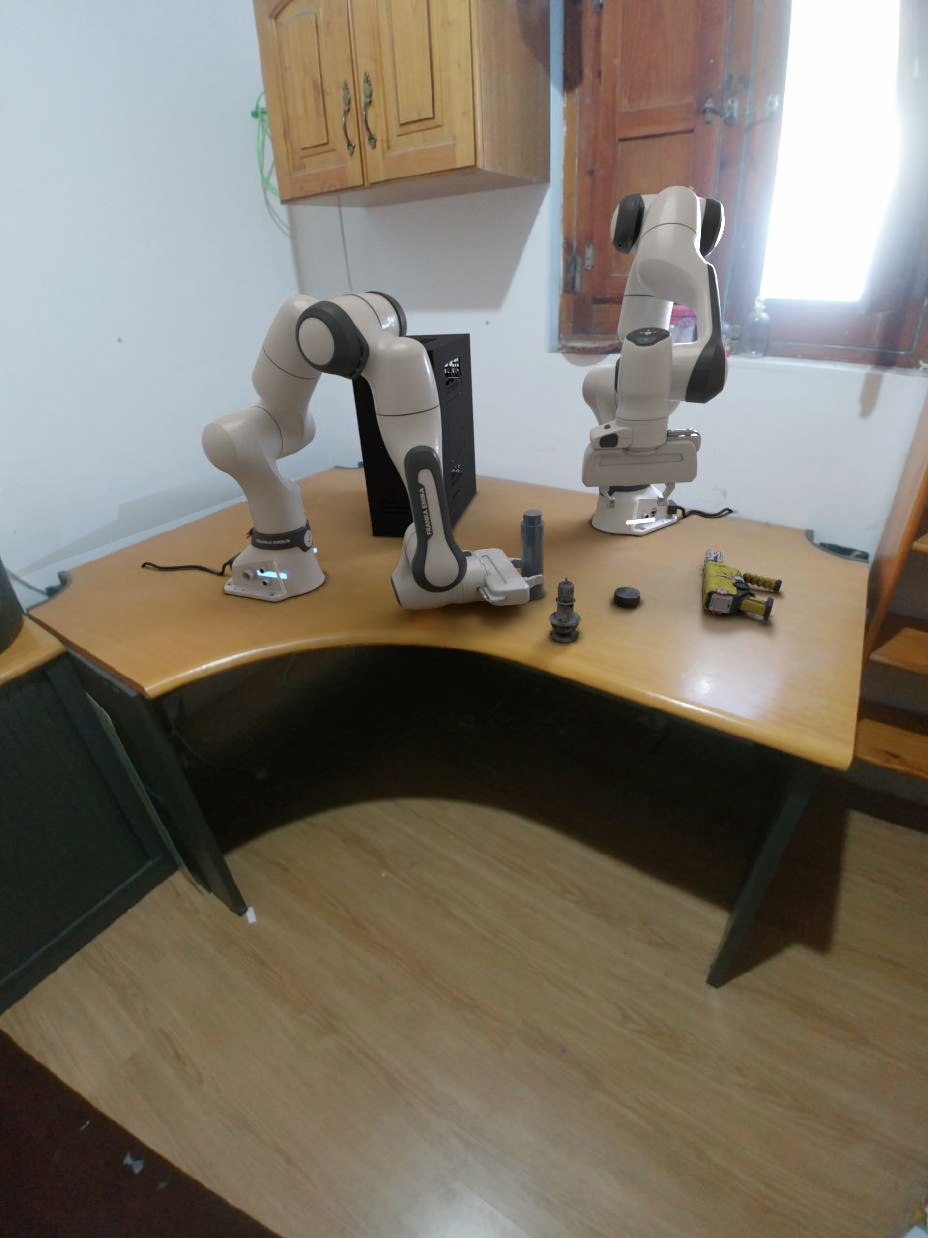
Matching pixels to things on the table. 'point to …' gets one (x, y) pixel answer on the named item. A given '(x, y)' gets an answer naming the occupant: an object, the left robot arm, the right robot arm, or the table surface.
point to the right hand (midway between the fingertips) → (635, 506)
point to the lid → (627, 597)
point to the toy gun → (734, 588)
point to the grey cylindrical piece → (532, 549)
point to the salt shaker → (565, 614)
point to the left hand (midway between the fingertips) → (536, 570)
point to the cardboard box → (457, 439)
